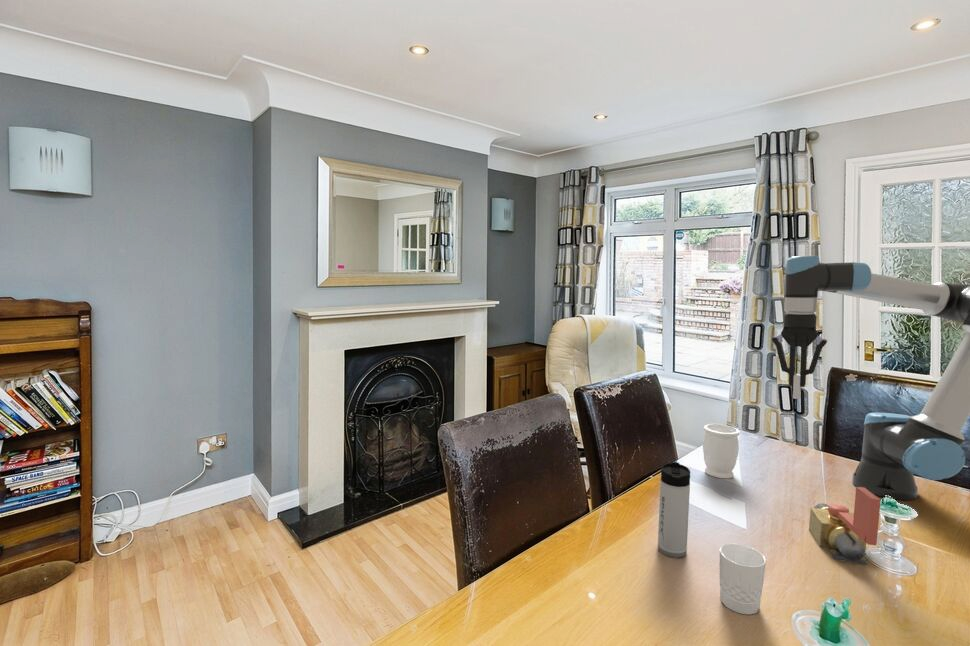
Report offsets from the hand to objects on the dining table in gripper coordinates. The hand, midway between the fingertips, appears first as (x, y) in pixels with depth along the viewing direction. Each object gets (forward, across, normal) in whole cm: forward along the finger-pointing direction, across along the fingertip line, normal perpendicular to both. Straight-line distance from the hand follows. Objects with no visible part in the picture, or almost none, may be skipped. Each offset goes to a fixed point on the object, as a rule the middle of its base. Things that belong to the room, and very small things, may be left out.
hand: (796, 397), depth 135 cm
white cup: (+30, +2, +57) cm, 64 cm away
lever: (+23, -14, +23) cm, 35 cm away
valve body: (+30, -11, +18) cm, 37 cm away
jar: (+30, +21, -8) cm, 37 cm away
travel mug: (+30, +19, +46) cm, 58 cm away
